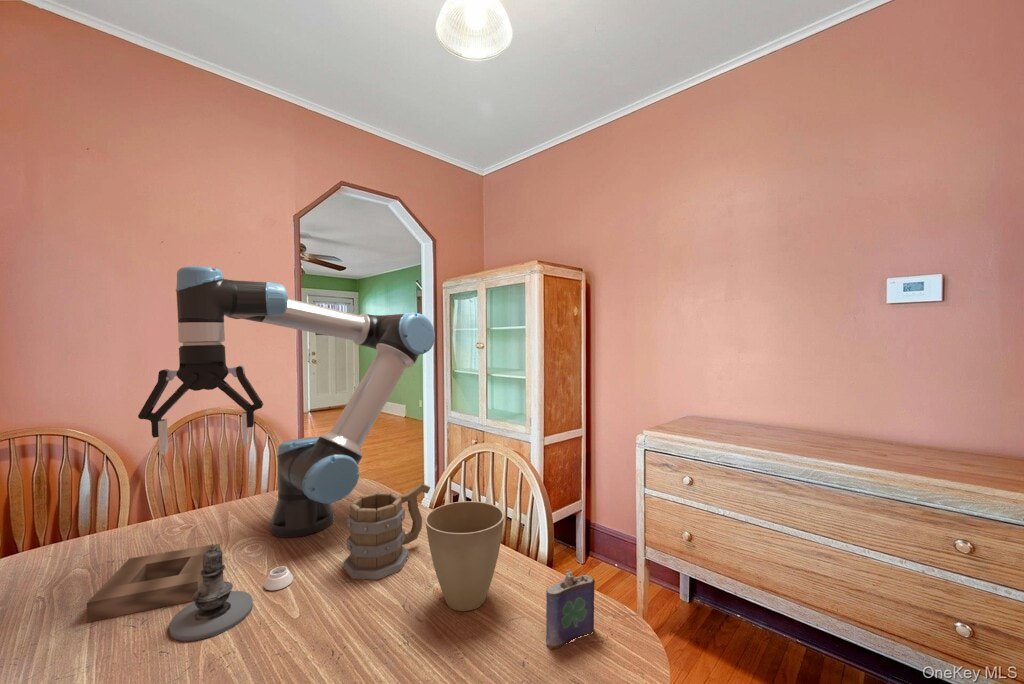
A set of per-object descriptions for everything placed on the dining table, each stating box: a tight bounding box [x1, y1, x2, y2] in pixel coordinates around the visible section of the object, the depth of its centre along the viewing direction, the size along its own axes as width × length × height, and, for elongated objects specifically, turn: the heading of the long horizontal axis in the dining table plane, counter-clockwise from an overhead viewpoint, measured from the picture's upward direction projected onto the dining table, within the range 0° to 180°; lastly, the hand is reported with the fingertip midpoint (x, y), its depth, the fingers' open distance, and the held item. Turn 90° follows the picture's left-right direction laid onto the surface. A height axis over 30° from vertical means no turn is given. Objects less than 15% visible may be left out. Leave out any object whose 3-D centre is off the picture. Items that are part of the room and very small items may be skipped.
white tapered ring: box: [263, 565, 294, 591], centre depth 83 cm, size 5×3×5 cm
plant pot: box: [424, 500, 505, 612], centre depth 78 cm, size 15×15×16 cm
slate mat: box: [168, 590, 254, 642], centre depth 73 cm, size 12×12×1 cm
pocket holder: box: [86, 543, 221, 623], centre depth 83 cm, size 16×16×4 cm
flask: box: [545, 569, 596, 650], centre depth 68 cm, size 9×3×11 cm, turn 117°
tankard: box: [342, 482, 431, 581], centre depth 93 cm, size 20×13×15 cm, turn 131°
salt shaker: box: [192, 544, 234, 621], centre depth 73 cm, size 6×6×12 cm
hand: (206, 448), depth 84 cm, fingers open, 13 cm apart
